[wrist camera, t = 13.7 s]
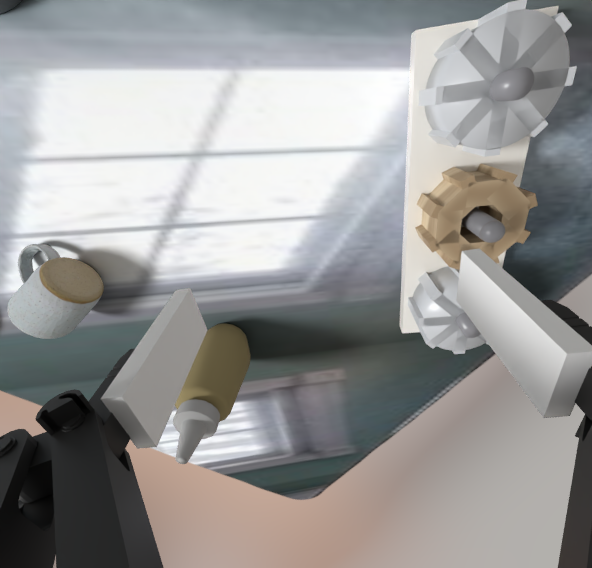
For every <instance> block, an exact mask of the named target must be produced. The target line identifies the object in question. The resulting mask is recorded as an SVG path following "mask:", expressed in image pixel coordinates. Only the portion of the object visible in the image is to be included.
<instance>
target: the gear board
mask: <svg viewBox="0 0 592 568" xmlns="http://www.w3.org/2000/svg"><path fill="white" fill-rule="evenodd" d="M526 3H527V0H519V1H513V2H508V3H507V4H505V5H503V6H501V7H499V8H498V9H496V10H494V11H492V12H491V13H489V14H487V15H485V16H483V17H482V18H480V19H478V20H472V21H466V22H460V23H455V24H449V25H443V26H437V27H431V28H425V29H420V30H416V31H415V32H413V33H412V34H411V56H410V81H409V106H408V130H407V155H406V180H405V205H404V230H403V254H402V279H401V304H400V329H401V331H402V333H412V332H421V334H422V336H423V338H424V340H425V342H426V344H427V345H429V346H430V347H431V348H435V347H436V346H438V347H440V348H443V349H447V350H452V351H453V353H454V354H462V353H465V350H467V349H472V348H475V347H478V346H480V345H482V344H484V343H487V341H486V340H485V338H484V337H483V336H482V334H481V333H480V332H479V330H478V329H477V328H476V326H475V325H474V324H473V322H472V321H471V320H470V318H469V317H468V316H467V314H466V313H465V312H464V310H463V309H462V308H461V306H460V305H459V303H458V302H457V301H456V299H457V290H458V280H459V271H460V270H458V269H454V268H451V267H449V266H448V265H447V264H446V263H445V261H444V260H443V259H442V258H441V257H440V256H439V255H438V253H437V252H436V251H435V252H432V251H431V250H430V249H429V248H428V247H427V246H426V244H425V243H424V242H423V241H422V240H421V238H420V237H419V236H418V233H417V231H416V228H415V227H417V226H419V225H421V224H422V211H423V210H422V209H421V208H420V207H419V206H418V205H417V202H418V200H419V198H420V196H421V194H426V195H429V194H430V193H431V192H432V191H433V190H434V189H435V188H436V187H437V186H438V185H439V184H440V183H441V182H442V181H443V180H444V179H443V176H442V172H444V171H446V170H448V169H450V168H452V167H455V168H458V169H460V170H463V171H466V172H471V171H477V169H478V167H479V165H480V163H481V164H484V165H487V166H491V167H494V168H497V169H500V170H504V171H507V172H510V173H513V174H516V175H518V176H517V177H516V179H515V180H514V182H513V184H514V185H515V186H516V187H519V188H520V183H521V179H522V174H523V169H524V165H525V160H526V155H527V151H528V146H529V142H530V137H535V136H536V135H538V134H539V133H540V132H541V131H542V130H543V129H544V128H545V127H546V126H547V125H548V123H547V122H546V120H545V118H546V117H547V116H548V115H549V113H550V112H551V111H552V109H553V108H554V106H555V105H556V103H557V101H558V99H559V97H560V96H561V93H562V91H563V89H564V86H570V85H572V84H573V80H574V76H575V72H576V68H577V66H574V67H569V62H570V54H569V46H568V41H567V38H566V36H565V32H566V31H567V30H568V29H569V28H570V27H571V26H572V25H571V23H570V22H569V20H568V19H567V18H566V16H565V15H564V13H563V12H561V13H559V14H557V12H558V7H559V6H554V7H548V8H542V9H536V10H528V9H525V8H526ZM461 227H466V228H467V229H468V230H470V231H471V232H472V233H474V234H475V235H476V236H478V237H479V238H480V239H482V240H483V241H485V242H488V243H494V242H497V241H499V240H500V239H502V238H503V236H504V234H505V226H504V225H503V223H501V222H500V221H498V220H497V219H495V218H493V217H491V216H490V215H488V214H486V213H485V212H483V211H481V210H480V209H479V206H477V207H475V208H473V209H472V210H471V211H470V212H469V213H468V214H467V215H466V216H465V217H464V218H463V219H462V222H461ZM505 253H506V251H504V252H503V253H502V254H501V255H499V256H498V259H499V262H500V263H497V264H498V265H499V266H500V267H501V268H502V267H503V262H504V258H505ZM487 344H488V343H487ZM488 345H489V344H488Z"/></svg>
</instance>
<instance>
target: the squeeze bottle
mask: <svg viewBox="0 0 592 568" xmlns="http://www.w3.org/2000/svg"><path fill="white" fill-rule="evenodd" d="M250 357H251V356H250V351H249V346H248V341H247V338H246V335H245V333H244V332H243V331H242V330H241V329H240V328H238V327H236V326H234V325H232V324H226V323H223V324H217V325H215V326H213V327H212V328H210V329H209V330H208V331H207V332H206V335H205V337H204V339H203V342H202V344H201V346H200V348H199V351H198V353H197V355H196V358H195V360H194V362H193V364H192V367H191V369H190V371H189V374H188V376H187V378H186V381H185V383H184V385H183V387H182V390H181V392H180V394H179V397H178V399H177V401H176V404H175V406H176V408H177V412H176V414H175V416H174V419H173V425H174V426H175V428H176V430H177V431H178V432H180V436H179V442H178V448H177V454H176V461H177V462H178V463H180V464H186V463H187V462H188V460H189V459H190V457H191V456H192V454H193V452H194V451H195V449H196V447H197V446H198V444H199V442H200V441H201V439H206V438H208V437H211V436H213V434H214V433H215V432H216V430H217V427H218V423H219V422H220V421H222V420H225V419H226V418H227V416H228V415H229V414H230V412H231V410H232V407H233V405H234V402H235V400H236V397H237V395H238V392H239V390H240V387H241V385H242V382H243V380H244V377H245V375H246V372H247V370H248V367H249V364H250Z"/></svg>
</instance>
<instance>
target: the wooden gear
mask: <svg viewBox="0 0 592 568" xmlns="http://www.w3.org/2000/svg"><path fill="white" fill-rule="evenodd" d="M442 176H443V179H444V180H443V181H442V182H441V183H440V184H439V185H438V186H437V187H436V188H435V189H434V190H433V191H432V192H431V193H430V194H429V195H426V194H421V196H420V198H419V200H418V202H417V205H418V206H419V207H420V208H421V209H422V210H423V211H422V224H421V225H419V226H417V227H415V228H416V231H417V233H418V236H419V237H420V238H421V240H422V241H423V242H424V243H425V244H426V246H427V247H428V248H429V249H430V250H431V251H432V252H435V251H436V252H437V253H438V255H439V256H440V257H441V258H442V259H443V260H444V261H445V263H446V264H447V265H448V266H449V267H451V268H454V269H458V270H460V262H461V253H462V251H465V250H472V249H481V250H482V251H483V252H484V253H485V254H486V255H488V256H489V257H490V258H491V259H492V260H493V261H494V262H496V263H500V262H499V259H498V256H499V255H501V254H502V253H503V252H504V251H506V250H507V249H508V248H509V247H511V246H512V245H513V244H514V243H516V242H519V243H522V244H523V243H524V242H525V240H526V239H527V237H528V236H529V234H530V233H531V232H530V231H528V230H526V229H525V224H526V220H527V216H528V212H529V209H531V208H533V207H535V206H537V205H538V204H537V200H536V195H535V193H532V192H530V191H527V190H524V189H522V188H519V187H516V186H515V185H514V184H513V182H514V180H515V179H516V177H517V176H518V175H516V174H513V173H510V172H507V171H504V170H500V169H497V168H494V167H491V166H487V165H484V164H481V163H480V165H479V167H478V169H477V171H471V172H466V171H463V170H460V169H458V168H455V167H452V168H450V169H448V170H446V171H444V172H442ZM477 206H479V209H480V210H481V211H483V212H485V213H486V214H488V215H490V216H491V217H493V218H495V219H497V220H498V221H500V222H501V223H503V225H504V226H505V234H504V236H503V238H502V239H500V240H499V241H497V242H494V243H488V242H485V241H483V240H482V239H480V238H479V237H478V236H476V235H475V234H474V233H472V232H471V231H470V230H468V229H467V228H466V227H461V222H462V219H463V218H464V217H465V216H466V215H467V214H468V213H469V212H470V211H471V210H472V209H473V208H475V207H477Z"/></svg>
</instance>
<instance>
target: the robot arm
mask: <svg viewBox="0 0 592 568" xmlns="http://www.w3.org/2000/svg"><path fill="white" fill-rule="evenodd" d="M21 1H22V0H0V14H1V13H4V12H6V11H9V10H10V9H12V8H14V7H15V6H16V5H18V4H19V3H20V2H21ZM456 301H457V302H458V303H459V305H460V306H461V308H462V309H463V310H464V312H465V313H466V314H467V316H468V317H469V318H470V320H471V321H472V322H473V324H474V325H475V326H476V328H477V329H478V330H479V332H480V333H481V334H482V336H483V337H484V338H485V340H486V341H487V343H488V344H489V345H490V347H491V348H492V349H493V351H494V352H495V353H496V355H497V356H498V357H499V359H500V360H501V361H502V363H503V364H504V365H505V367H506V368H507V369H508V371H509V372H510V373H511V375H512V376H513V378H514V379H515V380H516V382H517V383H518V384H519V386H520V387H521V388H522V390H523V391H524V392H525V394H526V395H527V396H528V398H529V399H530V400H531V402H532V403H533V404H534V406H535V407H536V408H537V410H538V411H539V413H540V414H541V415H542V416H543V418H549V417H562V416H570V414H571V412H572V410H573V407H574V405H575V403H576V404H577V405H578V406H579V407H580V409H581V410H582V411H583V412H584V413H585V416H584V418H583V420H582V422H581V424H580V426H579V428H578V430H577V433H576V435H575V436H576V437H578V438H579V442H578V448H577V454H576V460H575V467H574V473H573V479H572V485H571V491H570V497H569V503H568V509H567V515H566V521H565V528H564V533H563V539H562V545H561V551H560V557H559V564H558V568H592V327H591V326H590V327H589V325H588V324H587V323H586V322H585V321H584V320H582V319H579V317H578V316H577V315H576V314H575V313H574V312H572V311H571V310H570V309H569V308H567V307H565V306H563V305H561V304H559V303H557V302H555V301H552V300H545V301H540V300H539V299H537V298H536V297H535V296H534V295H533V294H532V293H530V292H529V291H528V290H527V289H526V288H525V287H523V286H522V285H521V284H520V283H519V282H518V281H516V280H515V279H514V278H513V277H512V276H511V275H510V274H508V273H507V272H506V271H505V270H504V269H503V268H501V267H500V266H499V265H498V264H497V263H496V262H494V261H493V260H492V259H491V258H490V257H489V256H488V255H486V254H485V253H484V252H483V251H482V250H481V249H472V250H465V251H462V253H461V262H460V271H459V280H458V290H457V299H456ZM206 332H207V328H206V326H205V323H204V321H203V318H202V316H201V313H200V311H199V309H198V306H197V304H196V301H195V299H194V296H193V294H192V291H191V289H190V288H188V289H180V290H176V291H175V292H174V294H173V295H172V297H171V298H170V299H169V301H168V302H167V304H166V305H165V307H164V308H163V310H162V311H161V312H160V314H159V315H158V317H157V318H156V320H155V321H154V322H153V324H152V325H151V327H150V328H149V330H148V331H147V333H146V334H145V335H144V337H143V338H142V340H141V341H140V343H139V344H138V346H137V347H136V348H135V349H130V350H129V351H128V352H127V353H126V354H125V355H123V356H122V357H121V358H120V359H119V360H118V362H117V363H116V365H115V366H114V367H113V370H111V372H110V373H109V374H108V376H107V378H105V380H104V381H103V383H102V384H101V385H100V387H99V388H98V389H97V391H96V392H95V394H94V395H93V396H92V398H91V399H90V400H89V402H88V401H87V399H86V398H85V397H84V395H83V394H82V393H81V392H80V391H79V390H70V391H66V392H64V393H61V394H59V395H57V396H56V397H54V398H53V399H51V400H50V401H48V402H47V403H46V404H45V405H44V406H43V407H42V408H41V409H40V411H39V412H38V414H37V416H36V421H37V422H38V423H39V424H40V425H41V426H42V427H43V428H44V429H45V430H46V431H47V432H45V433H42V434H39V435H37V436H34V437H32V436H31V435H30V434H29V433H28V432H27V431H26V430H25V429H18V430H14V431H11V432H9V433H7V434H5V435H3V436H1V437H0V568H53V564H54V560H55V555H56V566H57V568H163V565H162V562H161V558H160V555H159V552H158V548H157V545H156V542H155V538H154V535H153V532H152V528H151V525H150V522H149V518H148V515H147V512H146V509H145V505H144V502H143V499H142V495H141V492H140V489H139V486H138V482H137V479H136V476H135V472H134V469H133V466H132V462H131V459H130V456H129V453H128V452H127V451H126V449H125V447H126V446H127V444H128V442H129V440H130V439H131V441H132V442H133V443H134V445H135V446H136V447H137V448H149V447H157V445H158V443H159V440H160V438H161V436H162V433H163V431H164V429H165V427H166V424H167V422H168V420H169V417H170V415H171V413H172V410H173V408H174V406H175V404H176V401H177V399H178V397H179V394H180V392H181V390H182V387H183V385H184V383H185V381H186V378H187V376H188V374H189V371H190V369H191V367H192V364H193V362H194V360H195V358H196V355H197V353H198V351H199V348H200V346H201V344H202V342H203V339H204V337H205V335H206Z"/></svg>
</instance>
